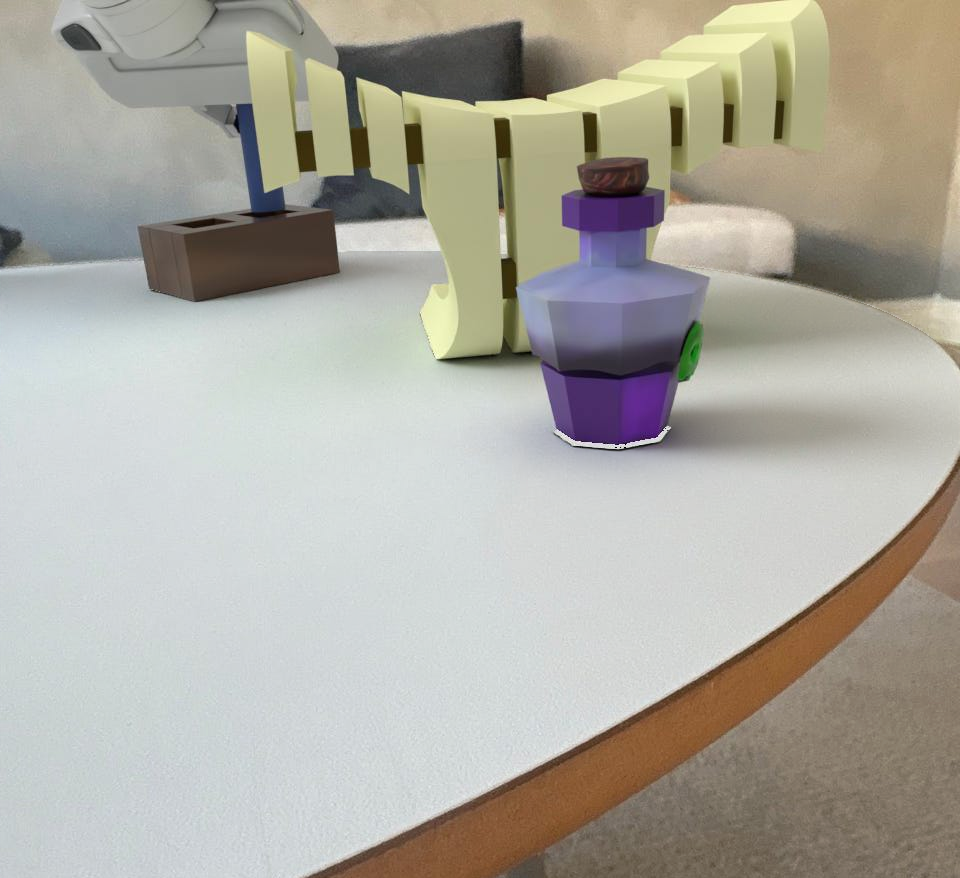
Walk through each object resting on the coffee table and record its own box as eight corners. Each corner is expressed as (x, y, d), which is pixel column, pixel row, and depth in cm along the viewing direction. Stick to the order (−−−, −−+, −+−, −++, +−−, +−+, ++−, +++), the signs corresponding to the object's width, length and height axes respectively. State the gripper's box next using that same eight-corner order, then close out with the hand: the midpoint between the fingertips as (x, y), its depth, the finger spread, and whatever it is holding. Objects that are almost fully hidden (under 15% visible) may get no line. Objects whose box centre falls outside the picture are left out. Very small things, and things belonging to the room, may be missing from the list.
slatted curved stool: (290, 387, 61) (242, 29, 53) (297, 323, 75) (260, 33, 67) (806, 342, 64) (836, -5, 55) (719, 288, 78) (732, 5, 70)
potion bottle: (720, 457, 47) (735, 163, 42) (523, 466, 48) (512, 175, 42) (689, 398, 55) (698, 143, 50) (519, 406, 55) (510, 154, 50)
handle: (244, 211, 89) (223, 62, 84) (274, 206, 91) (254, 60, 86) (262, 213, 88) (241, 61, 83) (292, 208, 89) (273, 59, 84)
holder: (149, 289, 89) (136, 226, 87) (290, 262, 97) (282, 203, 94) (194, 301, 83) (183, 234, 81) (340, 272, 91) (333, 209, 89)
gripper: (292, -60, 71) (384, 93, 83) (65, -34, 80) (178, 102, 92) (261, 17, 70) (359, 162, 82) (33, 36, 79) (152, 164, 91)
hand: (262, 130), depth 87 cm, fingers closed on handle, 3 cm apart
